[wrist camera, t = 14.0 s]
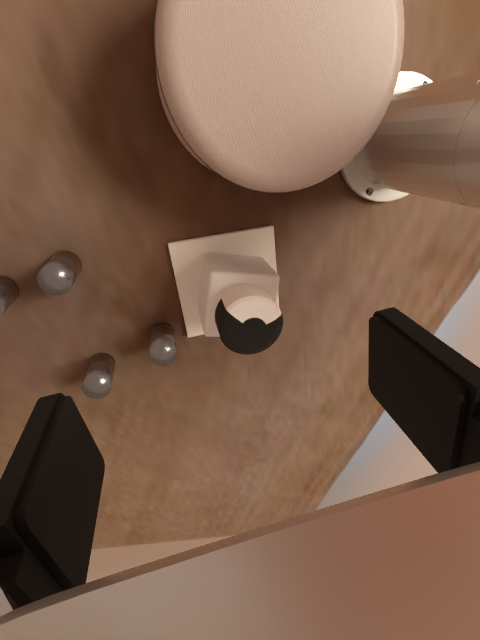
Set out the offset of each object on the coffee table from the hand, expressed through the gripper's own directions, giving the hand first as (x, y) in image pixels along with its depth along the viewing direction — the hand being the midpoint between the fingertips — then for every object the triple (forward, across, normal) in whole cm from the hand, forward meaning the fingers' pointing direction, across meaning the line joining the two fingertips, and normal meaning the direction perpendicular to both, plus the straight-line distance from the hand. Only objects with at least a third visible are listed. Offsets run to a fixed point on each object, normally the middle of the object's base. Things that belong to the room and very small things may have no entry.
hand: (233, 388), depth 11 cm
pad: (+31, -3, +9) cm, 32 cm away
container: (+31, -10, -10) cm, 34 cm away
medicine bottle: (+30, -4, +9) cm, 32 cm away
